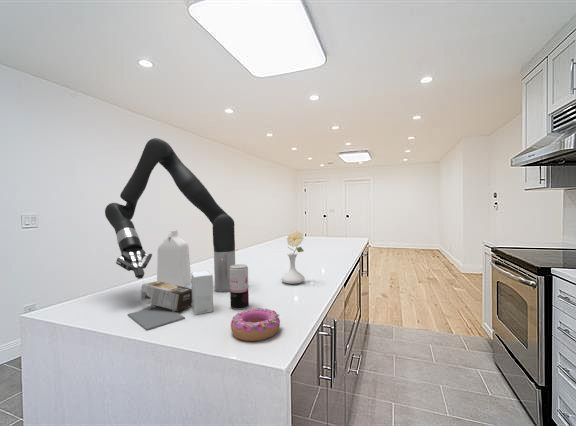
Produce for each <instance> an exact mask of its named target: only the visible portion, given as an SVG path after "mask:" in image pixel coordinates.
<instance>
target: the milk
mask: <svg viewBox="0 0 576 426" xmlns="http://www.w3.org/2000/svg"><path fill="white" fill-rule="evenodd" d="M189 249H190V246H189V244H188V243H187V242H186V241H185V240H184V239H183V238H182V237H180V236H179V233H178V230H176V229H175V230H174V229H172V230H169V231H168V236H167V237H166V238H165V239H164V240H163V242H162V243H161V244H160V245H159V246H158V248H157V259H156V260H157V261H156V262H157V263H156V267H157V269H156V274H157V275H156V281H161V282H165V283H169V284H173V285H177V286H181V287H184V286H185V287H186V286H187V285H189V284H191V283H192V281H191V273H192V272H191V271H192V270H191V262H190V261H191V260H190V259H191V258H190V250H189ZM188 283H189V284H188Z"/></svg>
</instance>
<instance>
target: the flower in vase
mask: <svg viewBox="0 0 576 426" xmlns="http://www.w3.org/2000/svg"><path fill="white" fill-rule="evenodd" d="M303 239H304V237H303V232H301V231H299V230H295V231H292V232H290V233H289V234H288V235H287V238H286V242H287V245H288V246H287V247H288V249H290V250H291V251H293V252H289V253H287V257H288V258H289V264H290V265H289V267H290V268H289V269H288V271H287V272H285V273H284V274H283V275H282V276H281V279H280V280H281V282H282V283H285V284H290V285H292V284H300V283H303V282H304V281H305V280H306V278H305V276H304V275H303V273H300V272H299V271H298V270H297V268H296V258H297V256H298V253H302V252H304V249H303V247H302V246H299V245H301V244H302V243H303V241H304V240H303ZM289 246H291V247H294V248H295V247H296V248H295V249H292V248H290V247H289ZM298 246H299V247H298ZM296 251H297V253H296Z"/></svg>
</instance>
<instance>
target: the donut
mask: <svg viewBox="0 0 576 426" xmlns="http://www.w3.org/2000/svg"><path fill="white" fill-rule="evenodd" d="M280 324H281V320H280V314H278V313H277V312H276V311H275V310H271V309H268V308H263V307H258V308H257V307H256V308H245V309H243V310H242V311H240V312H238V313H236V314H235V315H233V316H232V318H231V322H230V330H231V332H232V335H234V337H235V338H237V339H239V340H242V341H246V342H257V341H259V342H260V341H262V340H267V339H269V338H271V337H273V336H274V335H275V334H277V332H278V331H279V328H280V326H281V325H280Z"/></svg>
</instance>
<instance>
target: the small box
mask: <svg viewBox="0 0 576 426" xmlns="http://www.w3.org/2000/svg"><path fill="white" fill-rule="evenodd" d="M213 280H214V279H213V274H212V272H210V270H205V271H204V270H203V271H194V272H191V289H192V305H191V308H192V310H193V312H194V315H201V314H207V313H212V312H214V287H213V283H214V282H213Z"/></svg>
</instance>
